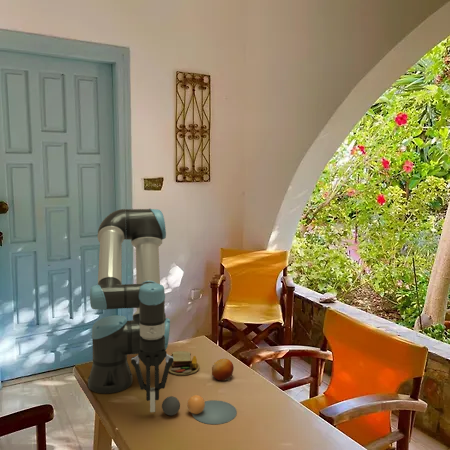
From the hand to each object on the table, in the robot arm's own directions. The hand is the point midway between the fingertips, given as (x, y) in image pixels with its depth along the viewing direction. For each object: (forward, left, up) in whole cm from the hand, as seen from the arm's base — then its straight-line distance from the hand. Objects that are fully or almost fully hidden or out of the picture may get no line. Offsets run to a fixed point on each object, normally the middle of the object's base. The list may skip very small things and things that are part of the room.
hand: (152, 409), depth 143 cm
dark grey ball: (+4, +4, +1) cm, 6 cm away
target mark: (+14, +12, -2) cm, 19 cm away
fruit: (+4, +34, -2) cm, 34 cm away
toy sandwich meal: (-13, +32, -3) cm, 35 cm away
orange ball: (+10, +9, +1) cm, 13 cm away
